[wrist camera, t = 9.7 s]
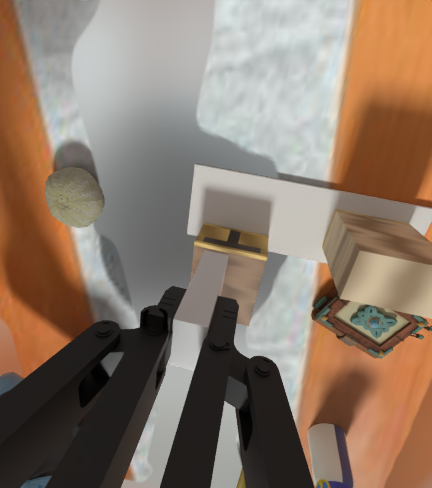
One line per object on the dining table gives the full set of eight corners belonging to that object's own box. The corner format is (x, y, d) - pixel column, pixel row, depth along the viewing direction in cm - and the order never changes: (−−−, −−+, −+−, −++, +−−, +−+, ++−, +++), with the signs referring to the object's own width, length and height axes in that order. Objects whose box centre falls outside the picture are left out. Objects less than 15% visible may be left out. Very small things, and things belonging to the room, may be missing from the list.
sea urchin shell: (42, 217, 48) (18, 191, 40) (70, 180, 51) (53, 150, 43) (93, 240, 47) (79, 219, 40) (118, 202, 50) (109, 175, 43)
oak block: (321, 246, 44) (339, 298, 32) (335, 209, 41) (359, 250, 29) (391, 261, 43) (435, 319, 31) (409, 223, 40) (465, 272, 28)
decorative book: (388, 359, 52) (399, 384, 47) (307, 308, 50) (310, 328, 46) (455, 312, 46) (475, 334, 41) (365, 252, 44) (375, 269, 40)
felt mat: (188, 231, 47) (187, 233, 46) (196, 163, 42) (195, 164, 42) (399, 276, 44) (401, 279, 44) (434, 208, 39) (437, 210, 39)
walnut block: (204, 222, 45) (195, 287, 52) (194, 241, 40) (186, 311, 46) (268, 236, 44) (251, 300, 51) (267, 257, 39) (248, 325, 46)
